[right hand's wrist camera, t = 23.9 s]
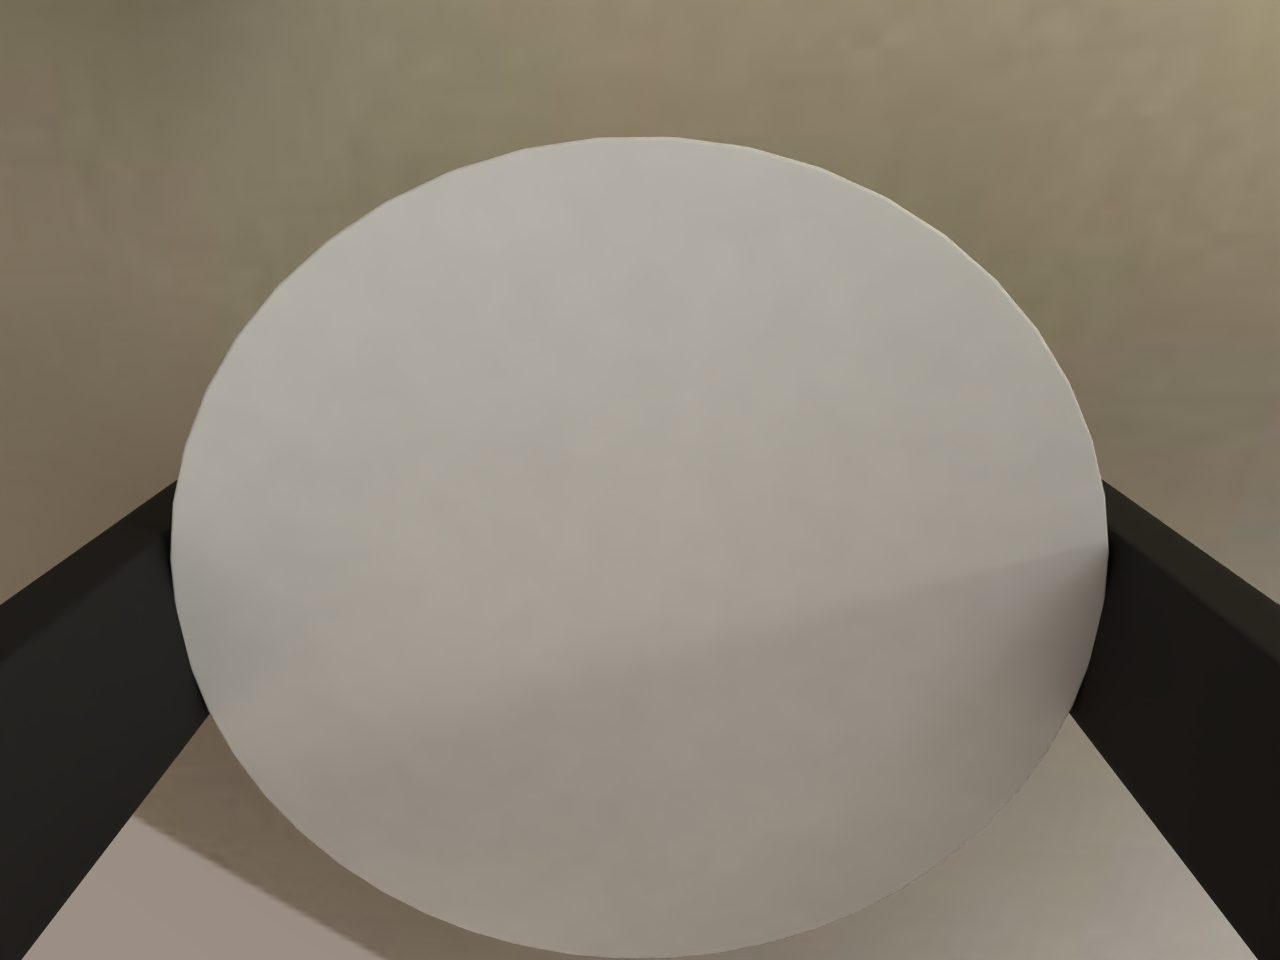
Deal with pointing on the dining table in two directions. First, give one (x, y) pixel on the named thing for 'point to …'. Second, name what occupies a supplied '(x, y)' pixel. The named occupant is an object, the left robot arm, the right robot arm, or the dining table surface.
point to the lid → (639, 547)
